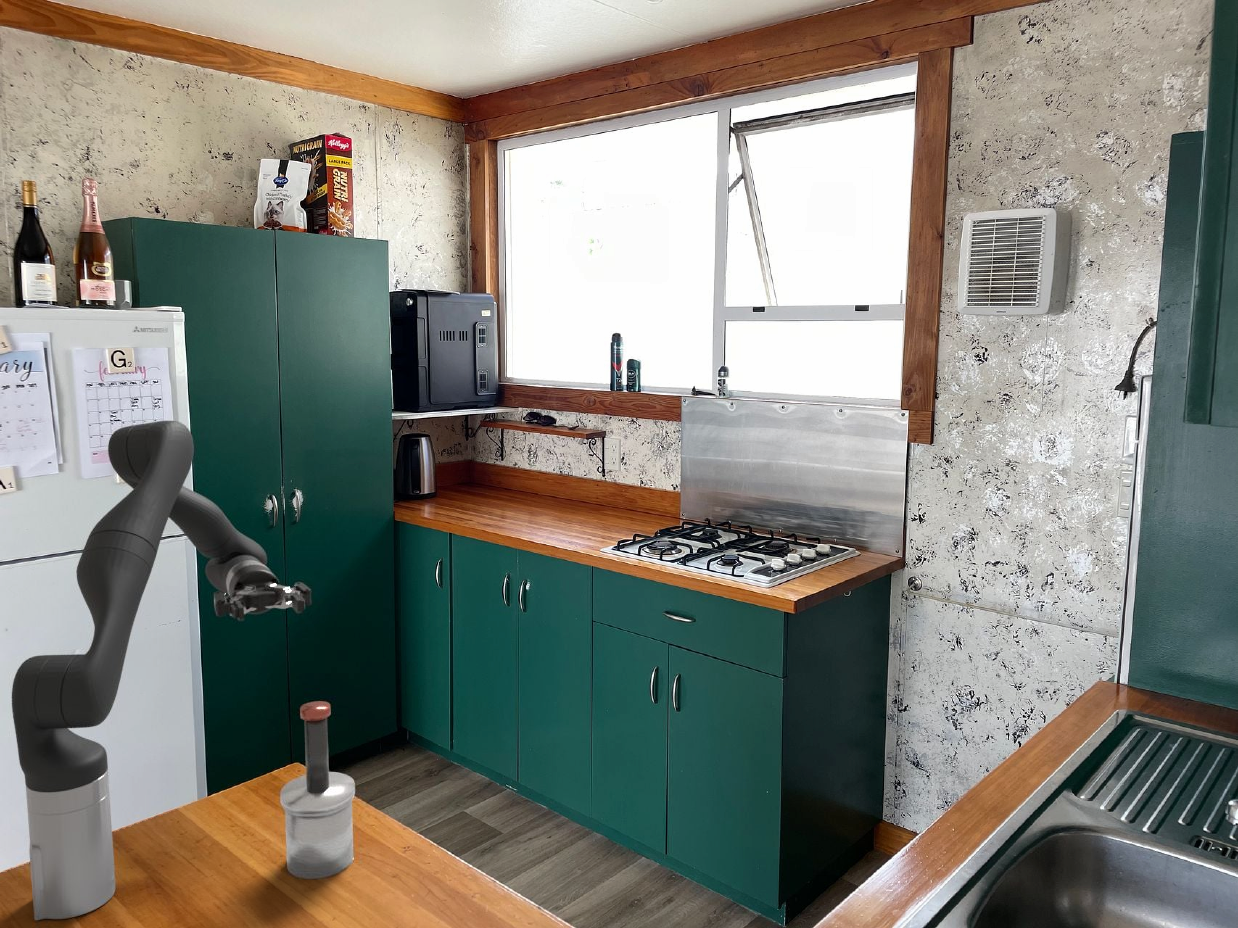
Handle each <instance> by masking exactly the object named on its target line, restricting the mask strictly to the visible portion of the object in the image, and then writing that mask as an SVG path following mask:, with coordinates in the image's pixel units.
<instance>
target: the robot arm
mask: <svg viewBox="0 0 1238 928" xmlns="http://www.w3.org/2000/svg"><path fill="white" fill-rule="evenodd" d="M193 439H194V438H193V436H192V433H191V431H190V429H189V428H188V427H187V425H185V424H183V423H182V422H180V421H177V420H160V421H153V422H148V423H140V424H132V425H128V426H124V427H121V428H118V429H116V430H114V432H113V433H112V434H111V435H110V438H109V440H108V446H107V453H108V458H109V462H110V464H111V466H112V468H113V470H114V471H115V473H116V474H117V475H118V477H119V478H120V479H121V480H122V481H124V483H126V484H127V485H128V486H129V487H131V489H133V490H131V491H130V492H129V493H128V494H127V495H126V496H124V497H123V498H122V499H121V500H120V501H119V502H118V503H117V504H116V505H115V506H114V507H112V508H111V509H110V510H109V511H108V512H107V513H105V514H104V515H103V517H102V518H101V519H100V520H98V522H97V523H96V524H95V525H94V527H92V530H91V531H90V533H89V535H88V538H87V540H86V542H85V545H84V548H83V549H82V550H83V551H82V553H81V555H80V557H79V561H78V563H77V566H76V580H77V585H78V587H79V590H80V593H81V595H82V597H83V599H84V602H85V604H86V606H87V609H88V610H89V613H90V615H91V618H92V622H93V624H94V629H93V630H94V631H93V637H92V641H91V645H90V647H89V649H88V651H87V652H86V653H85V654H79V653H78V654H76V653H75V654H44V655H41V654H40V655H35V656H31V657H29V658H27V659H26V660H24V661H23V662H22V663H21V665H20V666H19V667H18V669H17V670H16V673H15V676H14V678H13V683H12V689H11V709H12V718H13V724H14V732H15V738H16V744H17V753H18V760H19V765H20V768H21V770H22V772H23V774H24V783H25V792H26V793H25V794H26V795H25V796H26V806H27V808H26V809H27V821H28V832H29V835H28V837H29V865H30V875H31V876H30V877H31V888H32V889H31V890H32V891H31V892H32V903H33V914H34V915H33V916H34V921H40V920H45V919H48V920H50V919H51V920H63V919H70V918H75V917H79V916H81V915H84V914H88V913H90V912H92V911H94V910H97V909H98V908H100V907H101V906H103V905H105V904H106V903H107V902H108V901H110V899H112V897H113V896H114V894H115V892H116V871H115V860H114V859H115V857H114V856H115V855H114V844H113V828H112V826H113V825H112V814H111V813H112V812H111V800H110V799H111V798H110V795H111V794H110V782H109V781H110V779H109V764H108V754H107V753H108V752H107V749H106V748H105V747H104V746H103V745H102V744H100V743H99V742H97V741H94V740H92V739H89V738H86V737H83V736H80V735H78V734H76V733H75V732H73V731H72V730H70V729H81V728H83V729H84V728H93V727H97V726H99V725H101V724H103V722H104V721H105V720H106V719H107V717H108V716H109V714H110V713H111V711H112V709H113V706H114V703H115V700H116V698H117V695H118V690H119V686H120V681H121V678H122V672H123V670H124V665H125V660H126V656H127V651H128V647H129V641H130V639H131V638H130V637H131V633H132V630H133V626H134V622H135V618H136V615H137V614H138V610H139V607H140V604H141V601H142V597H143V594H144V592H145V590H146V587H147V584H148V581H149V579H150V577H151V573H152V570H153V567H154V564H155V562H156V558H157V554H158V551H159V546H160V543H161V540H162V536H163V533H164V531H165V528H166V526H167V522H168V521H169V519H170V520H171V521H172V522H173V523H174V524H175V525H176V526H177V527H178V528H179V529H180V531H182V532H183V533H184V535H185V536H186V537H187V539H188V540H189V541H190V542H191V544H192V545H193V546H194V547H195V548H196V550H197V551H198V552H199V553H200V554H201V555H202V556H204V557H205V558H209V559H210V560H209V561H208V562H207V564H206V566H205V571H204V572H205V575H206V579H207V580H208V581H209V583H210V584H211V585H212V586H213V587H214V588H215V589H217V590H218V591H215V592H213V602H214V603H213V606H214V608H213V609H214V612H215V614H216V616H217V617H218V618H219V617H220V618H223V617H225V616H226V614H229V616H231V617H232V618H233V619H237V620H238V622H240V621H241V622H243V621H245V615H246V614H250V615H260V614H262V613H266V612H268V611H270V610H271V609H275V608H276V609H280V610H281V609H282V610H285V609H287V608H292V609H293V610H294V612H295V613H296V614H300V613H303V611H304V610H305V609H306V607H307V606H311V605H312V589H311V588H310V587H309V586H308V585H306V584H305V583H304V582H300V581H297V582H295V583H294V585H293V587H290V586H286V585H281V583H280V580H279V579H278V577H277V576H276V575H275V573H273V572H272V571H271V569H270V568H269V567H267V563H268V557H267V553H266V551H265V549H264V548H263V547H262V546H261V545H260V544H259V543H257V542H256V541H255V540H253V539H252V538H250V537H248V536H247V535H244V534H243V533H241V532H240V531H239V530H237V529H236V528H235V527H234V525H233V523H231V521H230V519H228V517H227V516H226V515H225V513H224V512H223V510H222V509H221V508H220V507H219V506H218V505H217V504H216V503H214V502H213V501H212V500H210V499H209V498H207V497H206V496H204V495H202V494H200V493H197V492H196V491H193V490H192V489H190V488H188V487H186V486H184V484H185V481H186V479H187V477H188V476H189V473H190V470H191V468H192V463H193V461H194V460H193V459H194V453H195V450H194V447H195V446H194V445H195V444H194V440H193ZM226 594H227V595H226ZM291 596H292V597H291ZM291 599H292V600H291Z"/></svg>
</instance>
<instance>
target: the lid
mask: <svg viewBox="0 0 1238 928" xmlns="http://www.w3.org/2000/svg"><path fill="white" fill-rule="evenodd" d="M331 710H332V709H331V704H330V703H329V702H328V701H324V700H322V701H321V700H316V701H310V702H307V703H304V704H302V705H300V708H299V711H300V712H299V713H300V720H301V719H302V720H303V721H304V743H305V745H304V748H305V749H304V751H305V774H304V775H301V776H299V777H296V778H294V779H292V780H290V781H288V782H287V783H285V784H284V786H283V787H281V789H280V792H279V794H280V796H279V797H280V805H281V806H282V808H283V810H284V809H286V810H287V811H290V812H293V813H297V814H318V813H324V812H328V811H332V810H335V809H337V808H340V807H342V806H344V805H345V804H347V803H348V802H350V801H351V800H352V799H353V800H354V797H355V795H356V783H355V782H356V781H355V779H353V778H352V777H351V776H349V775H348V774H346V773H343V772H342V773H341V772H336V771H330V769H329V741H328V740H329V738H328V735H329V734H328V718H329V717H330V715H331Z"/></svg>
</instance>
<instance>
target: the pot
mask: <svg viewBox="0 0 1238 928" xmlns="http://www.w3.org/2000/svg"><path fill="white" fill-rule="evenodd" d="M353 801H354V798H353V799H352V800H351V801H350V802H348V803H347V804H345V805H344V806H342V807H340V808H337V809H335V810H332V811H328V812H324V813H318V814H297V813H293V812H290V811H287V810H286V809H284V808H283V810H284V814H285V815H284V817H285V818H284V819H285V820H284V821H285V822H284V823H285V840H286V841H285V844H286V845H285V846H286V848H285V849H286V868H287V871H288V872H289V874H291V875H292V876H294V877H297V878H299V879H304V880H305V879H306V880H314V879H316V880H317V879H323V878H328V877H332V876H334V875H336V874H339V873H341V872H342V871H344V870H346V869H347V868H348V867H349V866H350V865H351V864H352V862H353V860H354V830H353V827H354V826H353V825H354V824H353Z"/></svg>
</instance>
